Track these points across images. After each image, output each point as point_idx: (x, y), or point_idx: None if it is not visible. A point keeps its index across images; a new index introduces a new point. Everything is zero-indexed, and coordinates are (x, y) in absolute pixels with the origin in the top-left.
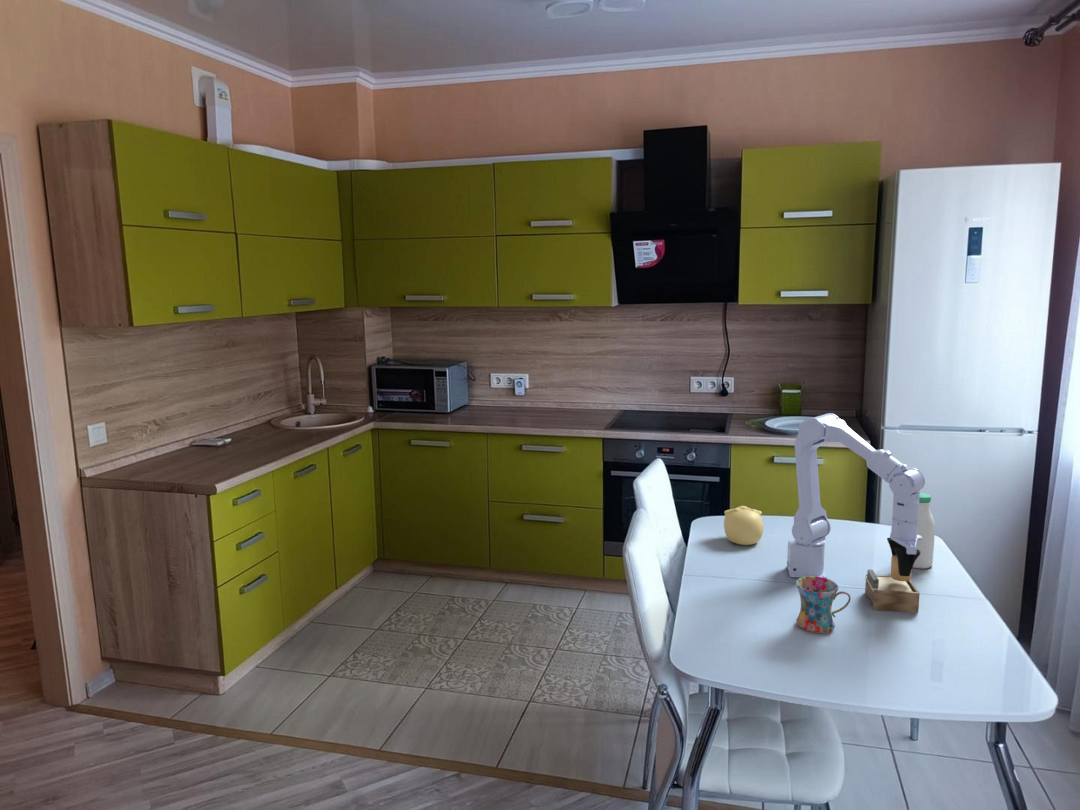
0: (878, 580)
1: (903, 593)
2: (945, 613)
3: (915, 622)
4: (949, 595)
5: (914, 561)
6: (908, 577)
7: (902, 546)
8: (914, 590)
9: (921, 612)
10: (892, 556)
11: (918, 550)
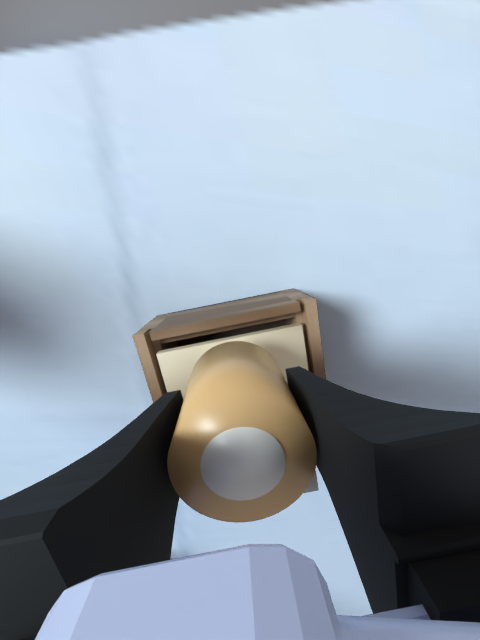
0: (315, 471)
1: (321, 358)
2: (275, 198)
3: (369, 301)
4: (99, 161)
5: (376, 401)
6: (273, 360)
7: (130, 536)
8: (273, 315)
9: (290, 278)
10: (224, 516)
11: (442, 454)
